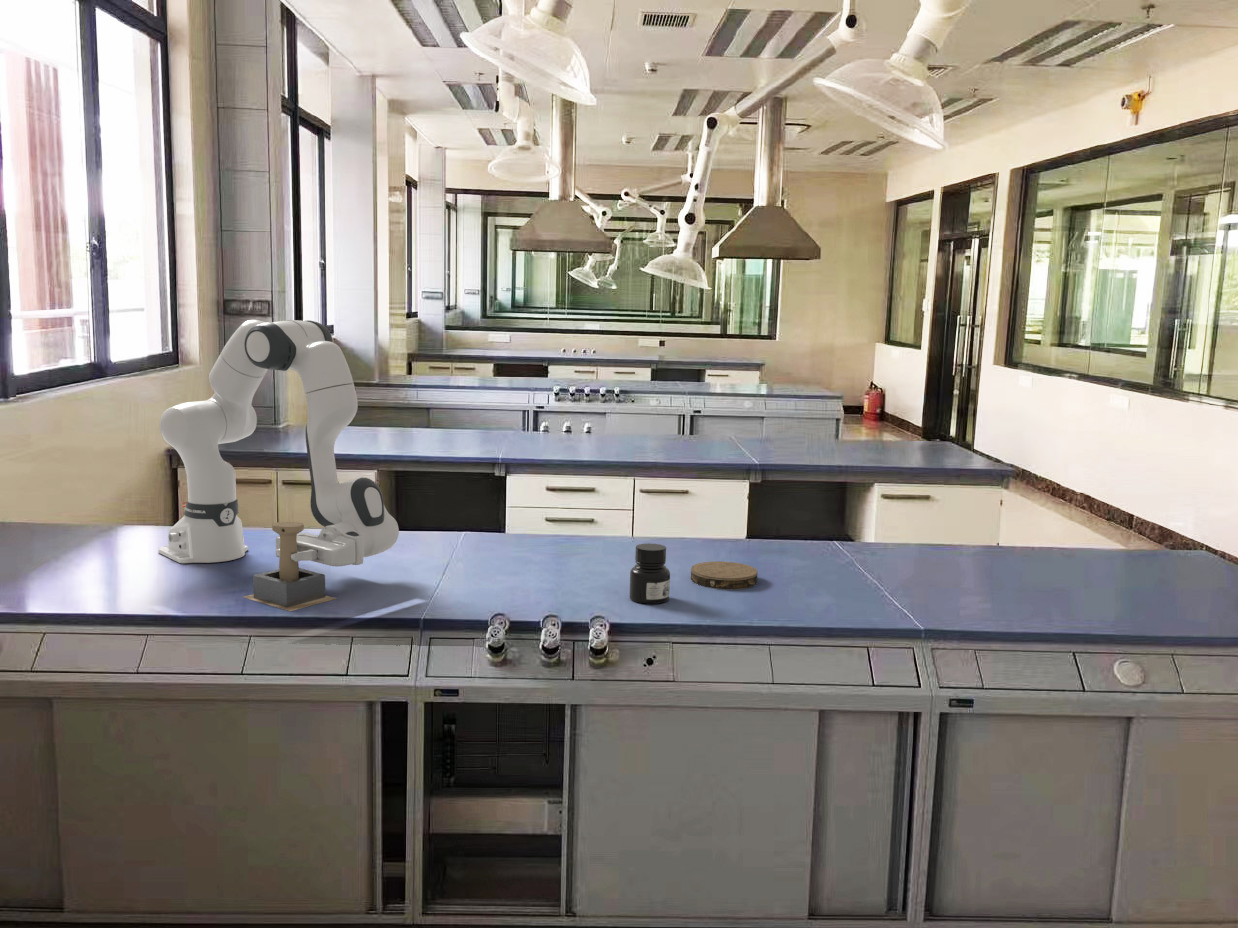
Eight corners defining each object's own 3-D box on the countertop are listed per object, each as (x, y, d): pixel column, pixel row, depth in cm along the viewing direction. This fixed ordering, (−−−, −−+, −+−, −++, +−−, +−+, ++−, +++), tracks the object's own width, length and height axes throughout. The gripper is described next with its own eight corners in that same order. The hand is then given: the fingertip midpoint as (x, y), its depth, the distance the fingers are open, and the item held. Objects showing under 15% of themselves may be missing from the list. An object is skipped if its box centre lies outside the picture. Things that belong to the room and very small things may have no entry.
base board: (242, 601, 224) (242, 596, 224) (289, 589, 234) (288, 585, 233) (290, 615, 215) (290, 611, 215) (336, 602, 225) (336, 598, 224)
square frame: (253, 597, 223) (253, 575, 222) (292, 588, 231) (291, 566, 230) (286, 607, 217) (286, 584, 216) (325, 597, 225) (324, 574, 224)
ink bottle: (655, 607, 227) (657, 554, 226) (621, 600, 232) (622, 548, 230) (677, 597, 236) (679, 545, 234) (643, 591, 240) (644, 540, 238)
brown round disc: (700, 570, 261) (701, 558, 261) (763, 577, 256) (764, 565, 256) (682, 585, 247) (683, 573, 246) (748, 593, 241) (749, 581, 241)
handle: (299, 596, 221) (297, 527, 219) (270, 594, 222) (268, 525, 220) (308, 590, 226) (307, 522, 224) (280, 588, 227) (278, 521, 224)
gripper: (306, 523, 238) (254, 533, 227) (367, 537, 227) (316, 548, 216) (306, 550, 239) (255, 561, 228) (367, 565, 228) (316, 578, 217)
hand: (285, 555), depth 222 cm, fingers closed on handle, 3 cm apart
